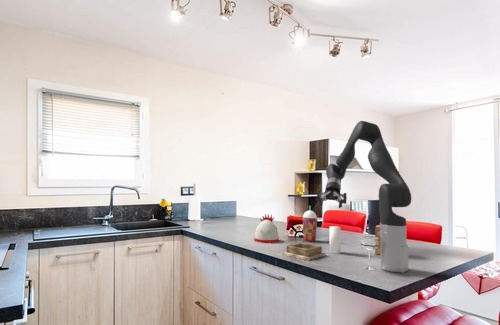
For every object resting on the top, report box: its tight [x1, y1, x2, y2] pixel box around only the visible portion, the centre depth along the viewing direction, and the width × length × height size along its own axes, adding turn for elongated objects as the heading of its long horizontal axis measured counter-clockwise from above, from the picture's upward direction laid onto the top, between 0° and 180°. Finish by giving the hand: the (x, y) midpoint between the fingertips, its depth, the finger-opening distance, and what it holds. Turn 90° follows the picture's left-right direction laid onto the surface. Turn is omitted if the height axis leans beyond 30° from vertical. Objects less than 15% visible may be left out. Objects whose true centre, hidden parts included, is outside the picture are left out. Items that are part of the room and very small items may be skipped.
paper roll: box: [328, 225, 342, 255], centre depth 149 cm, size 5×5×12 cm
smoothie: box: [302, 205, 318, 243], centre depth 177 cm, size 8×8×20 cm
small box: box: [374, 224, 381, 256], centre depth 148 cm, size 8×6×13 cm
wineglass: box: [360, 235, 379, 271], centre depth 122 cm, size 7×7×12 cm
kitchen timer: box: [253, 213, 280, 244], centre depth 176 cm, size 14×14×15 cm
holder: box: [282, 242, 327, 261], centre depth 142 cm, size 14×14×4 cm
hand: (330, 205), depth 149 cm, fingers open, 8 cm apart
